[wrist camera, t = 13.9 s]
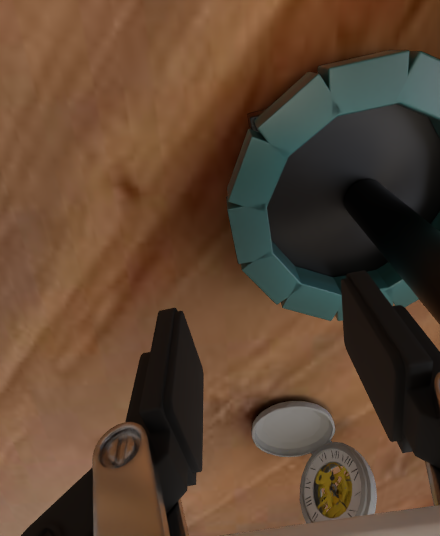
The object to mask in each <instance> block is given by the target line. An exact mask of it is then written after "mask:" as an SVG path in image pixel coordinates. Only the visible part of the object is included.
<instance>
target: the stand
mask: <svg viewBox="0 0 440 536" xmlns="http://www.w3.org/2000/svg"><path fill="white" fill-rule="evenodd" d="M265 110H266V109H265ZM265 110H261V111H257V112H253V113H249V114H248V121H249V127H250V129H251V130H254V131H257V132H259V130H258V129H257V127H256V125H255V123H254V120H255V119H256V118H257V117H259V116H260V115H261V114H262V113H263V112H264V111H265ZM439 212H440V138H439V136H438V134H437V132H436V130H435V128H434V126H433V124H432V122H431V121H430V119H429V117H426V116H424V115H421V114H419V113H416V112H414V111H411V110H409V109H406V108H404V107H401V106H399V105H396V104H394V105H389V106H384V107H380V108H375V109H370V110H365V111H361V112H356V113H351V114H347V115H342V116H337V117H336V118H335V119H334V120H332V121H331V122H330V123H329V124H328V125H326V126H325V127H324V128H323V129H322V130H320V131H319V132H318V133H317V134H315V135H314V136H313V137H312V138H311V139H309V140H308V141H307V142H306V143H305V144H303V145H302V146H301V147H300V148H299V149H297V150H296V151H295V152H294V153H292V154H291V155H290V156H289V157H288V159H287V161H286V164H285V166H284V168H283V171H282V173H281V175H280V178H279V180H278V182H277V185H276V187H275V189H274V192H273V194H272V196H271V199H270V201H269V203H268V206H267V213H268V220H269V227H270V234H271V240H272V241H273V243H274V244H275V245H276V246H277V247H278V248H279V249H280V250H281V251H282V252H283V254H284V255H285V256H286V257H287V258H288V259H289V260H290V261H291V262H292V264H293V265H294V266H296V267H300V268H303V269H306V270H310V271H313V272H317V273H320V274H323V275H327V276H330V277H339V276H344V275H347V274H348V273H353V272H358V271H363V270H365V271H366V272H368V271H374V270H377V269H378V268H380V267H381V266H383V265H385V264H386V263H388V262H389V263H390V264H391V266H392V267H393V268H394V269H395V270H396V272H397V273H398V274H399V275H400V277H401V278H402V279H403V280H404V281H405V283H406V284H407V285H408V286H409V288H410V289H411V290H412V291H413V292H414V294H415V295H416V296H417V297H418V298H419V300H420V301H421V302H422V303H423V305H424V306H425V307H426V308H427V309H428V311H429V312H430V313H431V314H432V316H433V317H434V318H435V319H436V320H437V322H438V323H439V324H440V231H439V230H437V229H436V228H435V227H434V226H432V225H431V223H432V222H433V220H434V219H435V217H436V216H437V215H438V213H439Z"/></svg>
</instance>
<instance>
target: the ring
mask: <svg viewBox="0 0 440 536" xmlns="http://www.w3.org/2000/svg"><path fill="white" fill-rule="evenodd" d="M317 69H318V73H313V72H307V73H306V74H305V75H304V76H303V77H302V78H301V79H299V80H298V81H297V82H296V83H295V84H294V85H293V86H292V87H291V88H289V89H288V90H287V91H286V92H285V93H284V94H283V95H282V96H281V97H280V98H278V99H277V100H276V101H275V102H274V103H273V104H272V105H271V106H270V107H268V108H267V109H266V110H265V111H264V112H263V113H262V114H261V115H260V116H259V117H257V118H256V119H255V120H254V123H255V125H256V127H257V129H258V130H259V132H257V131H254V130H251V129H248V131H247V134H246V137H245V139H244V142H243V145H242V148H241V151H240V153H239V156H238V159H237V162H236V165H235V167H234V170H233V173H232V176H231V179H230V181H229V184H228V187H227V193H228V196H227V197H226V199H227V211H228V216H229V221H230V226H231V231H232V236H233V241H234V245H235V250H236V255H237V260H238V264H241V268H242V271H243V272H244V273H245V274H246V275H247V276H248V277H249V278H250V279H251V280H252V281H253V282H254V283H255V284H256V285H257V286H258V287H259V288H260V289H261V290H262V291H263V292H264V293H265V294H266V295H267V296H268V297H269V298H270V299H271V300H272V301H273V302H274V303H275V304H279V303H280V302H281V305H282V308H285V309H289V310H292V311H296V312H300V313H303V314H307V315H311V316H314V317H318V318H322V319H326V320H329V321H331V320H332V319H333V317H334V316H336V318H337V320H338V321H342V320H343V311H342V293H341V280H342V279H345V278H346V275H344V276H339V277H330V276H327V275H323V274H320V273H317V272H313V271H310V270H306V269H303V268H300V267H296V266H294V265H293V264H292V262H291V261H290V260H289V259H288V258H287V257H286V256H285V255H284V254H283V252H282V251H281V250H280V249H279V248H278V247H277V246H276V245H275V244H274V243H273V241H272V240H271V234H270V227H269V220H268V213H267V206H268V203H269V201H270V199H271V196H272V194H273V192H274V189H275V187H276V185H277V182H278V180H279V178H280V175H281V173H282V171H283V168H284V166H285V164H286V161H287V159H288V157H289V156H290V155H291V154H292V153H294V152H295V151H296V150H297V149H299V148H300V147H301V146H302V145H303V144H305V143H306V142H307V141H308V140H309V139H311V138H312V137H313V136H314V135H315V134H317V133H318V132H319V131H320V130H322V129H323V128H324V127H325V126H326V125H328V124H329V123H330V122H331V121H332V120H334V119H335V118H336V117H337V116H342V115H347V114H351V113H356V112H361V111H365V110H370V109H375V108H380V107H384V106H389V105H394V104H396V105H399V106H401V107H404V108H406V109H409V110H411V111H414V112H416V113H419V114H421V115H424V116H426V117H429V119H430V121H431V122H432V124H433V126H434V128H435V130H436V132H437V134H438V136H439V138H440V59H438V58H436V57H433V56H431V55H429V54H426V53H424V52H422V51H409V50H388V51H383V52H379V53H374V54H370V55H365V56H361V57H357V58H352V59H348V60H343V61H339V62H335V63H330V64H326V65H321V66H318V68H317ZM431 225H432V226H434V227H435V228H436V229H437V230H439V231H440V212H439V213H438V215H437V216H436V217H435V219H434V220H433V222H432V223H431ZM367 273H368V274H369V276H370V277H371V278H372V280H373V281H374V282H375V284H376V285H377V286H378V288H379V289H380V290H381V292H382V293H383V294H384V296H385V297H386V298H387V300H388V301H389V302H390V304H391V305H392V306H393V303H394V304H395V306H397V305H402V306H403V307H406V306H408V305H410V304H411V303H413V302H415V301H417V300H418V299H419V298H418V297H417V296H416V295H415V294H414V292H413V291H412V290H411V289H410V288H409V286H408V285H407V284H406V283H405V281H404V280H403V279H402V278H401V277H400V275H399V274H398V273H397V272H396V270H395V269H394V268H393V267H392V266H391V264H390V263H389V262H388V263H386V264H385V265H383V266H381V267H380V268H378V269H377V270H374V271H368V272H367Z"/></svg>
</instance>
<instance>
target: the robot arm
mask: <svg viewBox="0 0 440 536" xmlns="http://www.w3.org/2000/svg"><path fill="white" fill-rule="evenodd" d="M341 293H342V311H343V329H344V342H345V346H346V350H347V352H348V354H349V356H350V358H351V360H352V362H353V364H354V367H355V369H356V371H357V373H358V375H359V377H360V379H361V381H362V383H363V386H364V388H365V390H366V392H367V394H368V396H369V398H370V400H371V402H372V404H373V407H374V409H375V411H376V413H377V415H378V417H379V419H380V421H381V423H382V425H383V428H384V430H385V432H386V434H387V436H388V438H389V440H390V441H391V442H394V441H397V443H398V445H399V447H400V449H401V451H402V453H406V452H412V451H413V452H414V454H415V456H417V457H419V458H420V459H422V460H424V461H425V463H426V468H427V473H428V478H429V483H430V488H431V493H432V498H433V503H434V506H430V507H423V508H415V509H408V510H401V511H393V512H386V513H378V514H371V515H364V516H356V517H349V518H342V519H335V520H328V521H320V522H313V523H306V524H299V525H292V526H285V527H278V528H270V529H263V530H256V531H249V532H242V533H235V534H229V535H222V536H440V352H439V350H438V349H437V348H436V346H435V345H434V344H433V343H432V341H431V340H430V339H429V338H428V336H427V335H426V334H425V333H424V331H423V330H422V329H421V327H420V326H419V325H418V324H417V322H416V321H415V320H414V319H413V317H412V316H411V315H410V314H409V312H408V311H407V310H406V309H405V308H404V307H403V306H402V305H397V306H392V305H391V304H390V302H389V301H388V300H387V298H386V297H385V296H384V294H383V293H382V292H381V290H380V289H379V288H378V286H377V285H376V284H375V282H374V281H373V280H372V278H371V277H370V276H369V274H368V273H367V272H366V271H365V270H363V271H358V272H353V273H348V274H347V275H346V278H345V279H342V280H341ZM203 378H204V377H203V369H202V365H201V362H200V359H199V356H198V353H197V351H196V348H195V345H194V342H193V339H192V336H191V333H190V330H189V327H188V325H187V322H186V319H185V316H184V313H183V311H177V309H176V308H171V309H166V310H161V311H159V312H158V317H157V322H156V327H155V332H154V337H153V342H152V347H151V352H147V353H143V354H142V355H141V357H140V360H139V365H138V369H137V374H136V378H135V382H134V387H133V391H132V396H131V400H130V404H129V409H128V413H127V418H126V422H125V423H122V424H118V425H116V426H115V427H113V428H111V429H110V430H108V431H107V432H106V433H105V434H104V435H103V436H102V437H101V439H100V440H99V441H98V443H97V445H96V447H95V449H94V453H93V468H91V469H90V470H89V471H88V472H87V473H86V474H85V475H84V476H83V477H82V478H81V479H80V480H79V481H78V482H76V483H75V484H74V485H73V486H72V487H71V488H70V489H69V490H68V491H67V492H66V493H65V494H64V495H63V496H61V497H60V498H59V499H58V500H57V501H56V502H55V503H54V504H53V505H52V506H51V507H50V508H49V509H48V510H46V511H45V512H44V513H43V514H42V515H41V516H40V517H39V518H38V519H37V520H36V521H35V522H34V523H33V524H32V525H30V526H29V527H28V528H27V529H26V530H25V532H24V533H23V534H22V535H21V536H189V533H188V529H187V524H186V520H185V516H184V511H183V507H182V502H181V497H182V496H183V495H184V493H185V492H186V491H187V486H190V485H196V472H201V471H202V448H203Z"/></svg>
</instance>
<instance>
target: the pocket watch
mask: <svg viewBox="0 0 440 536" xmlns="http://www.w3.org/2000/svg"><path fill="white" fill-rule="evenodd" d="M251 432H252V439H253V441H254V443H255V444H256V446H257V447H258V448H259V449H261V450H262V451H264V452H266V453H268V454H272V455H276V456H280V457H295V456H302V455H306V454H309V453H311V454H312V456H311V457H310V459H309V461H308V462H307V464H306V466H305V469H304V472H303V474H302V479H301V484H300V503H301V508H302V513H303V516H304V518H305V521H306V523H313V522H320V521H328V520H335V519H342V518H349V517H356V516H364V515H371V514H374V513H375V509H376V500H377V494H376V484H375V480H374V476H373V473H372V471H371V469H370V466H369V465H368V463H367V462H366V460H365V459H364V458H363V457H362V455H361V454H360V453H359V452H357V451H356V450H355V449H354V448H352V447H350V446H348V445H346V444H344V443H338V442H333V443H332V441H331V439H332V437H333V435H334V433H335V425H334V421H333V419H332V417H331V415H330V413H329V412H328V411H327V410H326V409H324V408H323V407H321V406H319V405H317V404H315V403H310V402H306V401H288V402H283V403H278V404H276V405H273V406H271V407H269V408H267V409H266V410H264V411H262V412H261V413H260V414H259V415H258V416H257V417H256V419H255V421H254V422H253V425H252V430H251ZM336 466H339V468H340V470H341V471H340V472H339V473H337V474H338V475H337V474H334V475H333V472H331V469H333V468H335V467H336ZM340 466H343V469H341V467H340ZM345 470H346V473H345V475H344V473H343V472H344V471H345ZM329 471H330V472H329ZM347 473H349V476H346V474H347ZM338 476H341V477H342V480H341V482H340V483H338V481H337V480H338ZM335 482H337V483H338V484H339V485H338V486H337V487H336V485H335ZM330 485H331V486H330ZM322 488H325V490H324V492H325V494H324V492H323V495H324V496H322V491H321V489H322ZM331 495H332V496H331ZM325 502H326V503H325ZM327 502H328V503H327ZM323 503H325V504H327V505H328V508H326V509H324V508H325V506H326V505H325V504H323ZM330 507H331V509H329V508H330ZM327 509H329V511H328V512H326V510H327Z"/></svg>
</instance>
